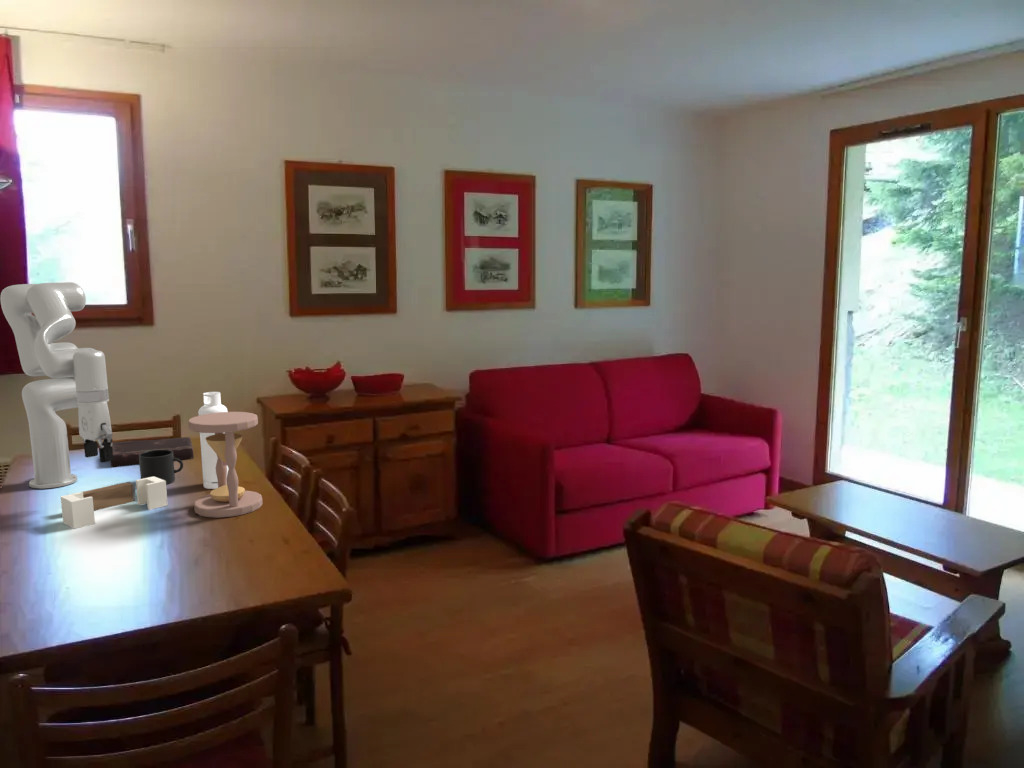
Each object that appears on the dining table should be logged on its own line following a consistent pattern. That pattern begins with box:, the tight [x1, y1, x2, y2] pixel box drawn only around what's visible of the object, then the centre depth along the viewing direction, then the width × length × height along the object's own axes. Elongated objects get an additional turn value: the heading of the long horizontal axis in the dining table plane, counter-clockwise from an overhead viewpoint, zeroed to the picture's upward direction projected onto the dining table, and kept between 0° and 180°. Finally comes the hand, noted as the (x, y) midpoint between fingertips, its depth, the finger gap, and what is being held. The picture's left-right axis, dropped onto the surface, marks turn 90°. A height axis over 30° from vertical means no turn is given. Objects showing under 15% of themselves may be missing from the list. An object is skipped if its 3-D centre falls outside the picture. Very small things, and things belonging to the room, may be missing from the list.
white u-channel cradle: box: [60, 476, 169, 529], centre depth 204 cm, size 7×24×7 cm, turn 140°
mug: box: [139, 450, 184, 486], centre depth 233 cm, size 9×12×9 cm
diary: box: [110, 436, 195, 468], centre depth 263 cm, size 19×25×5 cm
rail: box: [82, 481, 137, 512], centre depth 210 cm, size 3×16×5 cm, turn 140°
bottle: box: [197, 391, 229, 490], centre depth 229 cm, size 8×8×28 cm
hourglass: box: [187, 411, 264, 519], centre depth 208 cm, size 18×18×25 cm
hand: (99, 458), depth 208 cm, fingers open, 9 cm apart
